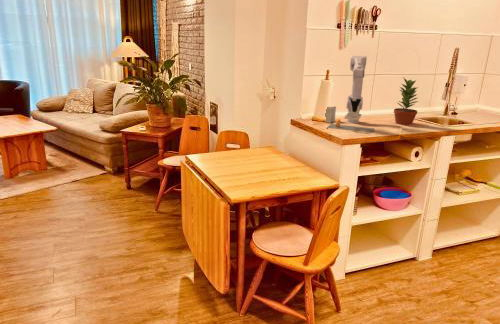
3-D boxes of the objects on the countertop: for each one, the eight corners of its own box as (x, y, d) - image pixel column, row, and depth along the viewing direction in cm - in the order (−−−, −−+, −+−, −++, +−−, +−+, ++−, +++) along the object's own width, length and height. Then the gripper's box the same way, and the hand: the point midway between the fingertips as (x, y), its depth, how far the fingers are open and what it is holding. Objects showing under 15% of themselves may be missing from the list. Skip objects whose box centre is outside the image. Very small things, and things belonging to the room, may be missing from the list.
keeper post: (336, 126, 239) (336, 119, 237) (340, 126, 238) (340, 119, 237) (335, 127, 237) (336, 119, 235) (339, 127, 236) (339, 120, 234)
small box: (334, 121, 256) (336, 106, 253) (330, 123, 252) (331, 107, 249) (324, 120, 261) (325, 104, 258) (320, 121, 257) (321, 105, 254)
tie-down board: (330, 125, 245) (330, 123, 245) (375, 130, 235) (375, 128, 235) (326, 129, 234) (326, 127, 234) (372, 134, 224) (372, 132, 224)
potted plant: (418, 126, 248) (426, 78, 239) (393, 125, 251) (400, 77, 241) (414, 121, 262) (421, 76, 252) (390, 120, 265) (396, 75, 255)
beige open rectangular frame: (348, 114, 239) (349, 104, 237) (361, 116, 236) (362, 105, 234) (344, 118, 228) (345, 108, 226) (358, 119, 225) (359, 109, 223)
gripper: (352, 87, 240) (349, 109, 244) (348, 89, 227) (346, 112, 231) (363, 88, 237) (361, 110, 241) (360, 90, 224) (358, 113, 228)
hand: (354, 111), depth 236 cm, fingers closed on beige open rectangular frame
